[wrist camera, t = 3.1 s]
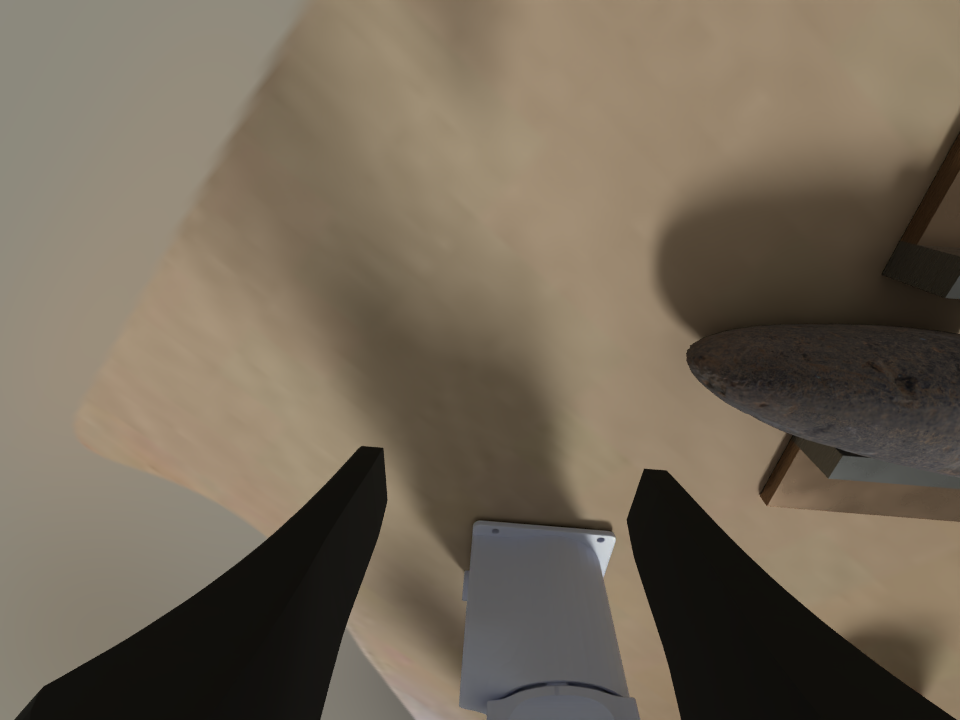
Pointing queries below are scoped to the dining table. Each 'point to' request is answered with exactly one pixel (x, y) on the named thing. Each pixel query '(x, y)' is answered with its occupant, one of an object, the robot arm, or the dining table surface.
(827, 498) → the brown tray
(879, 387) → the perforated stone tool
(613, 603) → the dining table surface
